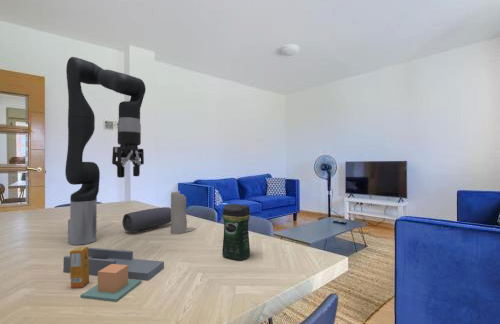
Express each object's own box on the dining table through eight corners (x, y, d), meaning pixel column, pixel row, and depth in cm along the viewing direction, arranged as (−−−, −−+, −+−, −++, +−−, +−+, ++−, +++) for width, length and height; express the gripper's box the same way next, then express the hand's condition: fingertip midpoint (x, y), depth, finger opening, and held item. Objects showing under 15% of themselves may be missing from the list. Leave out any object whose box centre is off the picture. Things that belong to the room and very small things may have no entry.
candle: (199, 228, 130) (199, 189, 130) (177, 235, 118) (178, 191, 118) (188, 226, 134) (189, 188, 134) (167, 232, 122) (167, 190, 122)
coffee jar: (253, 255, 93) (253, 204, 93) (242, 262, 86) (242, 207, 86) (230, 250, 98) (231, 201, 98) (218, 257, 91) (219, 204, 91)
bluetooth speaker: (162, 223, 140) (163, 205, 140) (173, 226, 135) (173, 207, 135) (121, 232, 122) (121, 211, 122) (132, 236, 116) (132, 213, 116)
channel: (63, 272, 78) (63, 257, 78) (87, 260, 87) (87, 247, 87) (147, 280, 73) (147, 264, 73) (164, 267, 82) (164, 253, 82)
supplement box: (76, 282, 71) (76, 246, 71) (89, 282, 71) (89, 246, 71) (68, 288, 68) (69, 250, 68) (82, 288, 68) (83, 250, 68)
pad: (80, 297, 63) (80, 295, 63) (109, 279, 73) (109, 277, 73) (116, 301, 62) (116, 299, 62) (141, 282, 72) (141, 280, 72)
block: (97, 291, 65) (97, 271, 65) (111, 282, 70) (111, 263, 70) (115, 293, 65) (115, 273, 65) (128, 283, 70) (128, 265, 70)
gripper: (125, 128, 85) (125, 178, 85) (150, 133, 99) (149, 176, 99) (105, 129, 86) (105, 177, 86) (132, 133, 100) (132, 175, 100)
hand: (129, 176), depth 92 cm, fingers open, 8 cm apart
